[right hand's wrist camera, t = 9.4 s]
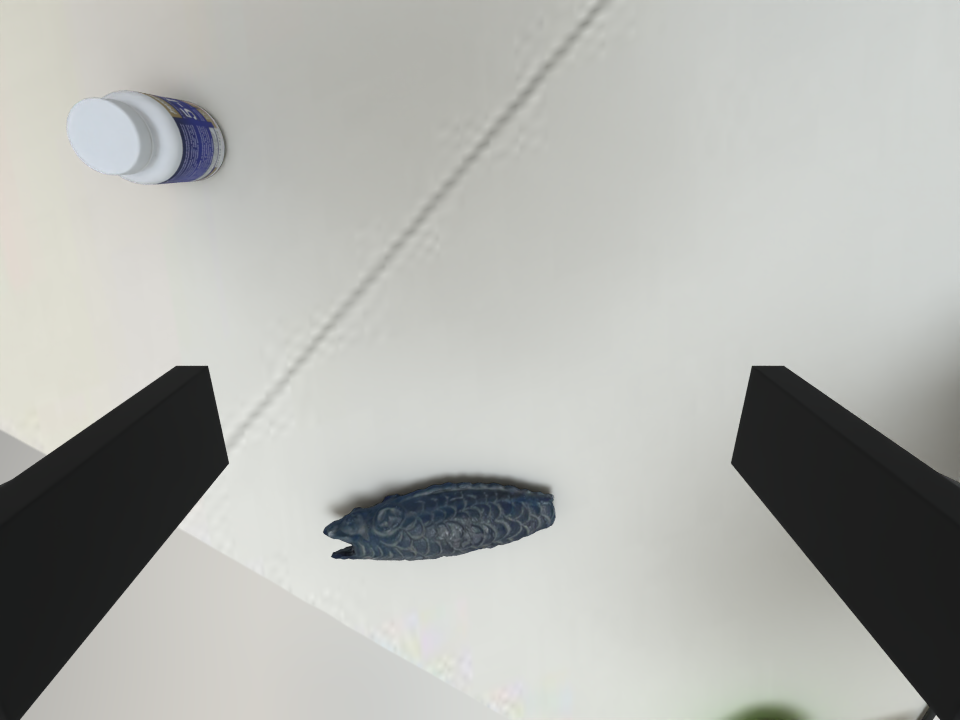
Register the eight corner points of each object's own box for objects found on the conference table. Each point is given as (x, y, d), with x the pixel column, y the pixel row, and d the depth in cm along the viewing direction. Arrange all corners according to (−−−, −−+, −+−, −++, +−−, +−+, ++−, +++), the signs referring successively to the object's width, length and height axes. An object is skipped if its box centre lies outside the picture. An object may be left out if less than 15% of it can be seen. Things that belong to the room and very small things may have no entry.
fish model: (325, 485, 47) (309, 522, 43) (551, 465, 47) (560, 500, 42) (339, 541, 50) (326, 582, 45) (554, 523, 49) (562, 562, 45)
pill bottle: (225, 107, 36) (148, 92, 27) (228, 185, 37) (157, 194, 29) (147, 94, 35) (45, 76, 27) (154, 174, 37) (61, 179, 29)
